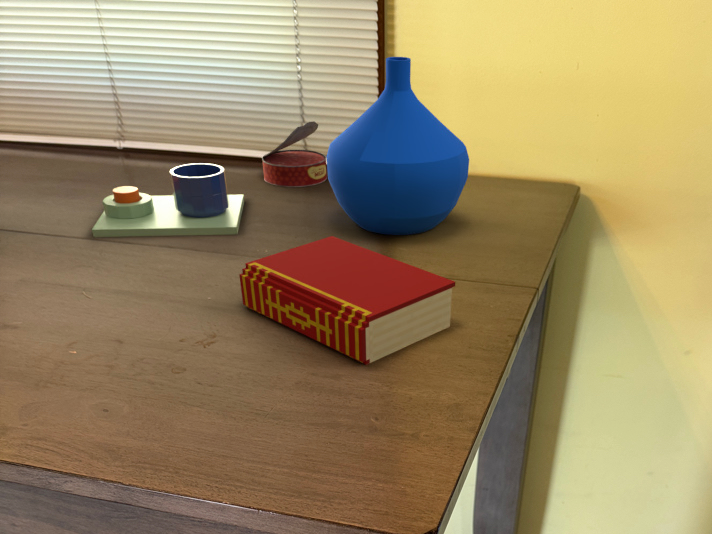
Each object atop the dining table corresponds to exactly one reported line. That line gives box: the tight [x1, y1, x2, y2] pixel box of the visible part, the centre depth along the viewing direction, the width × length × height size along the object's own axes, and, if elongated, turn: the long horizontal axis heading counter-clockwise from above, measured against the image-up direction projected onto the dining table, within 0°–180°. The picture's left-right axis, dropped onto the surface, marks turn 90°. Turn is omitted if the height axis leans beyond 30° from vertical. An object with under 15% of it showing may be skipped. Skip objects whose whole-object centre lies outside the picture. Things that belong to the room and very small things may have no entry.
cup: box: [169, 162, 229, 218], centre depth 99 cm, size 7×7×5 cm
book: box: [238, 235, 456, 366], centre depth 77 cm, size 18×13×5 cm
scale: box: [91, 192, 245, 238], centre depth 101 cm, size 18×14×3 cm
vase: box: [325, 56, 470, 236], centre depth 96 cm, size 18×18×19 cm
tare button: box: [112, 185, 140, 204], centre depth 99 cm, size 3×3×2 cm
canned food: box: [261, 121, 328, 188], centre depth 116 cm, size 11×10×10 cm
